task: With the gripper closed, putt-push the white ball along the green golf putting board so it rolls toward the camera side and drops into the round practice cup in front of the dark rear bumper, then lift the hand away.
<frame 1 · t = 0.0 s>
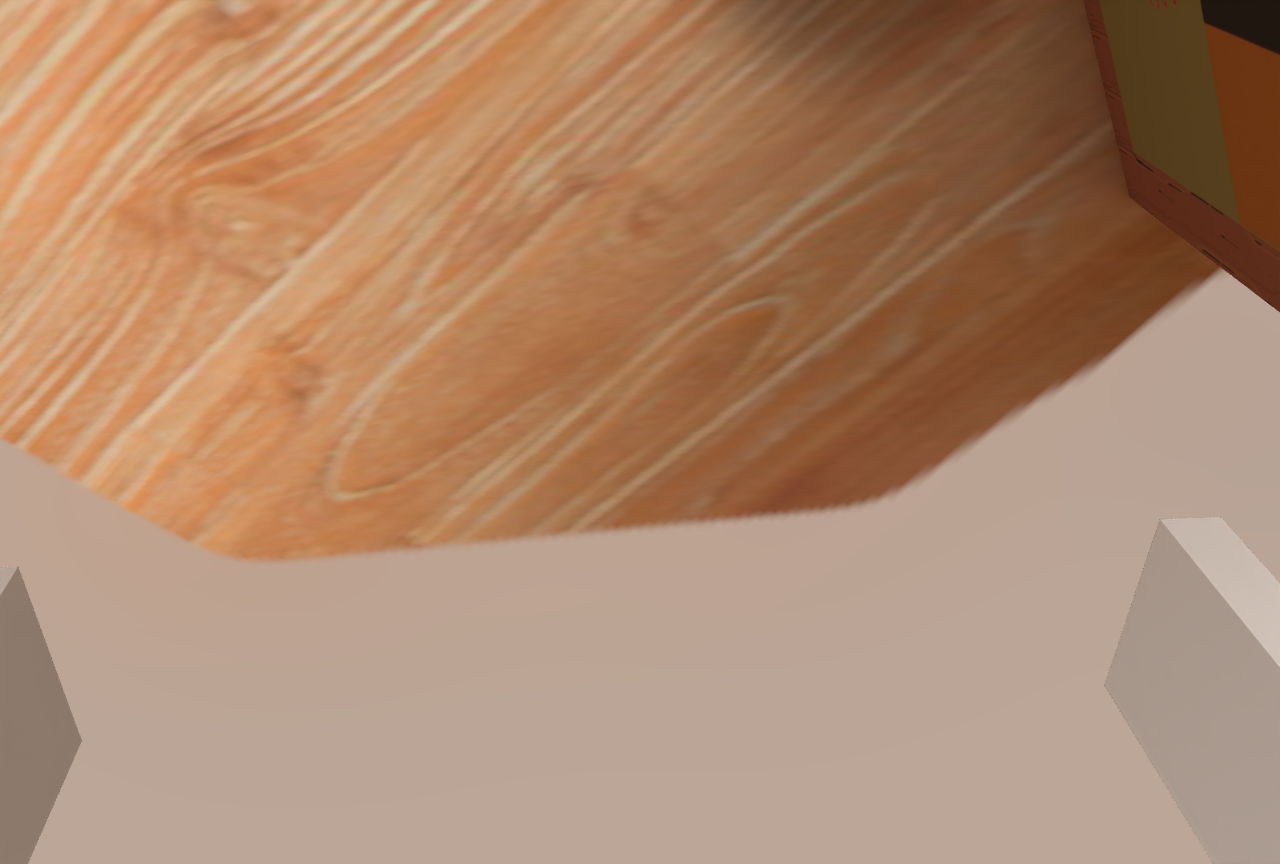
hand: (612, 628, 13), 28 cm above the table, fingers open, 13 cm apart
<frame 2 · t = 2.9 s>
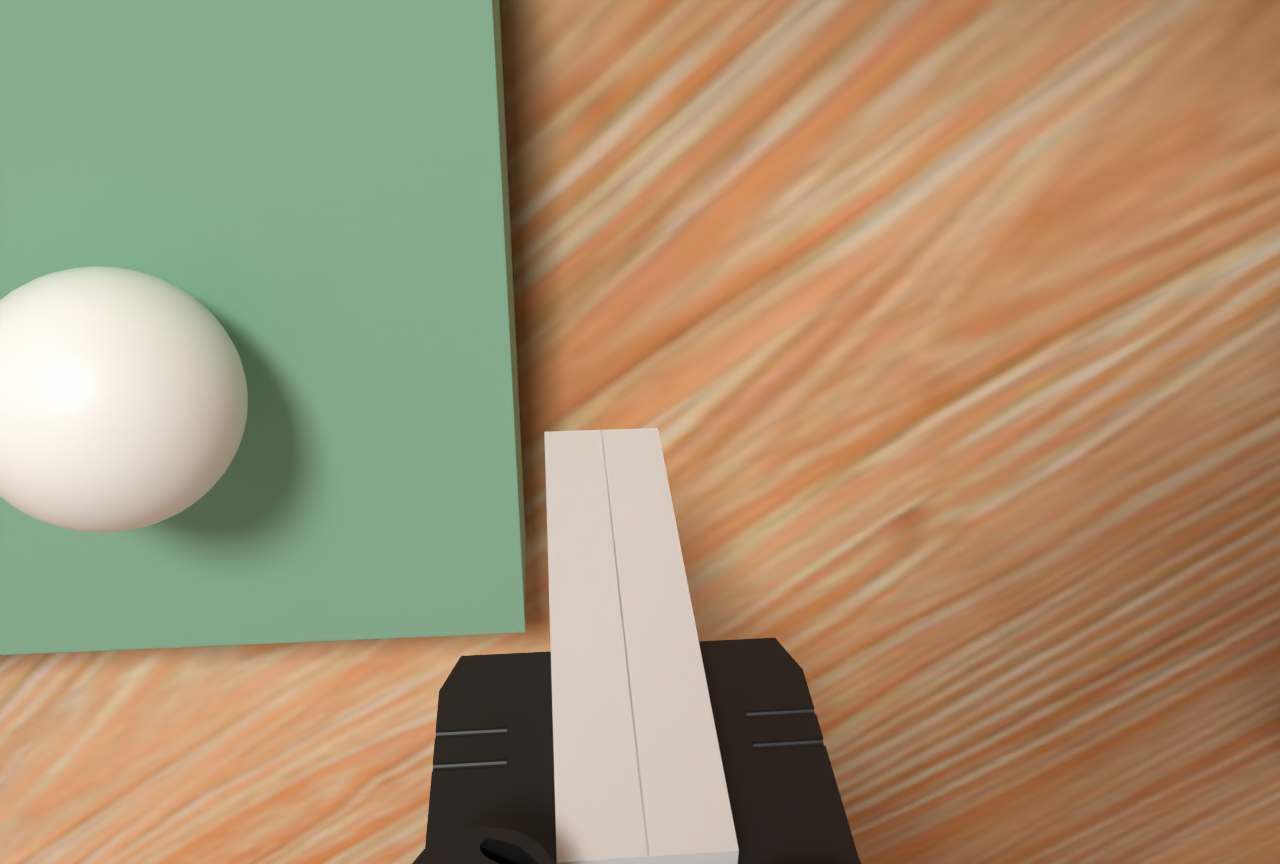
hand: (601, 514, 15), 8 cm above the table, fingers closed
ball: (107, 400, 17), point 5 cm above the table, touching green golf putting board
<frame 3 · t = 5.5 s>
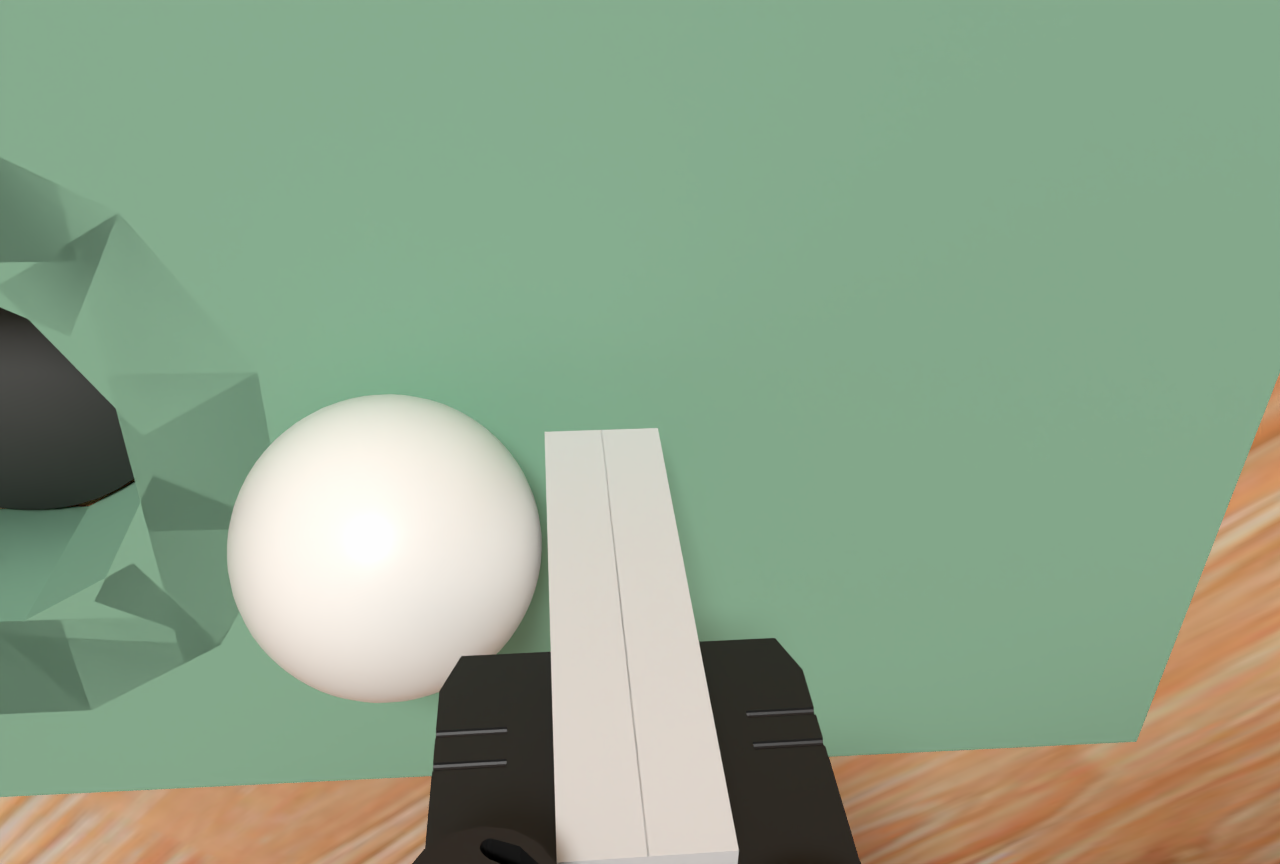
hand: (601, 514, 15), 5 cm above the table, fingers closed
green golf putting board: (428, 352, 19), on the table
ball: (389, 546, 14), point 5 cm above the table, tilted 158°, touching green golf putting board
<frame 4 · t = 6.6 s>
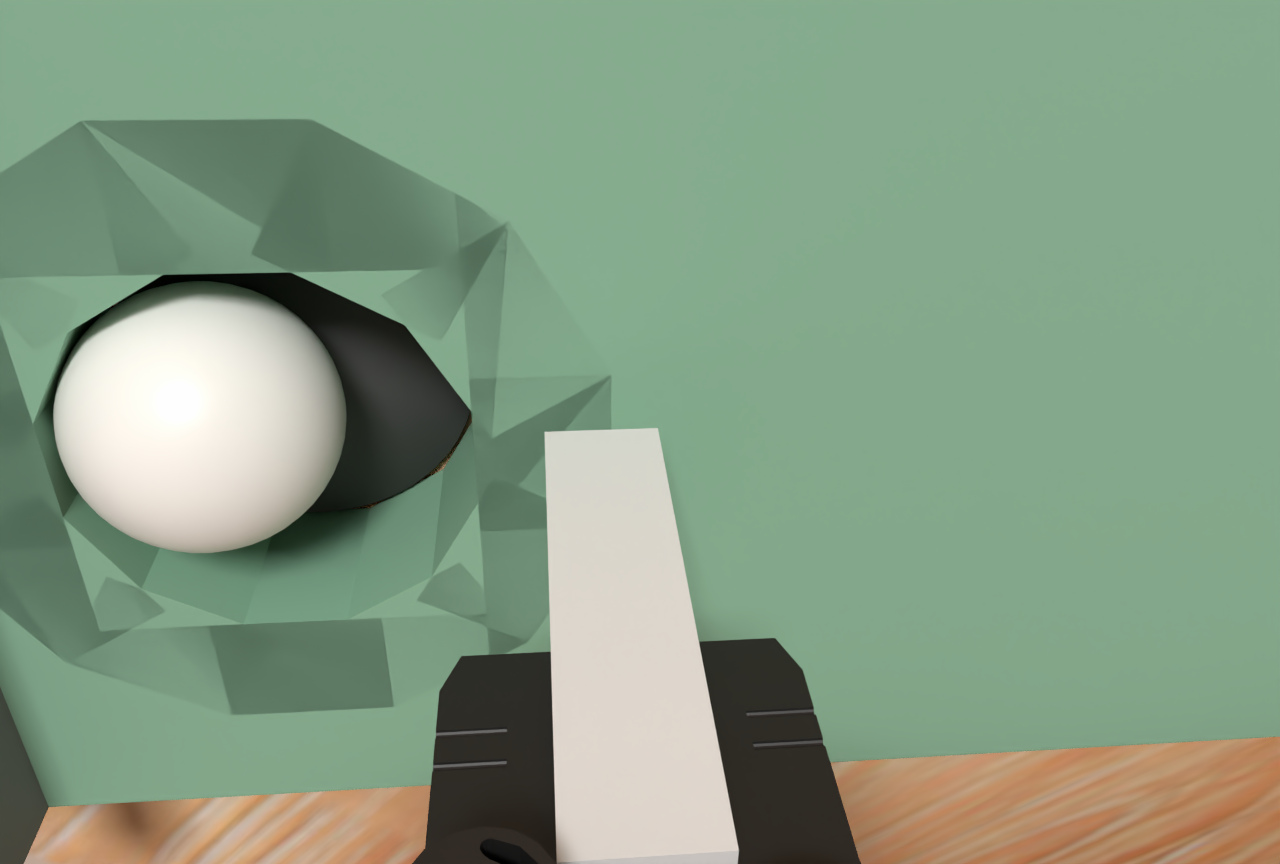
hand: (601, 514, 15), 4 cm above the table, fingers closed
green golf putting board: (715, 354, 19), on the table
ball: (206, 417, 16), point 2 cm above the table, tilted 87°, touching green golf putting board
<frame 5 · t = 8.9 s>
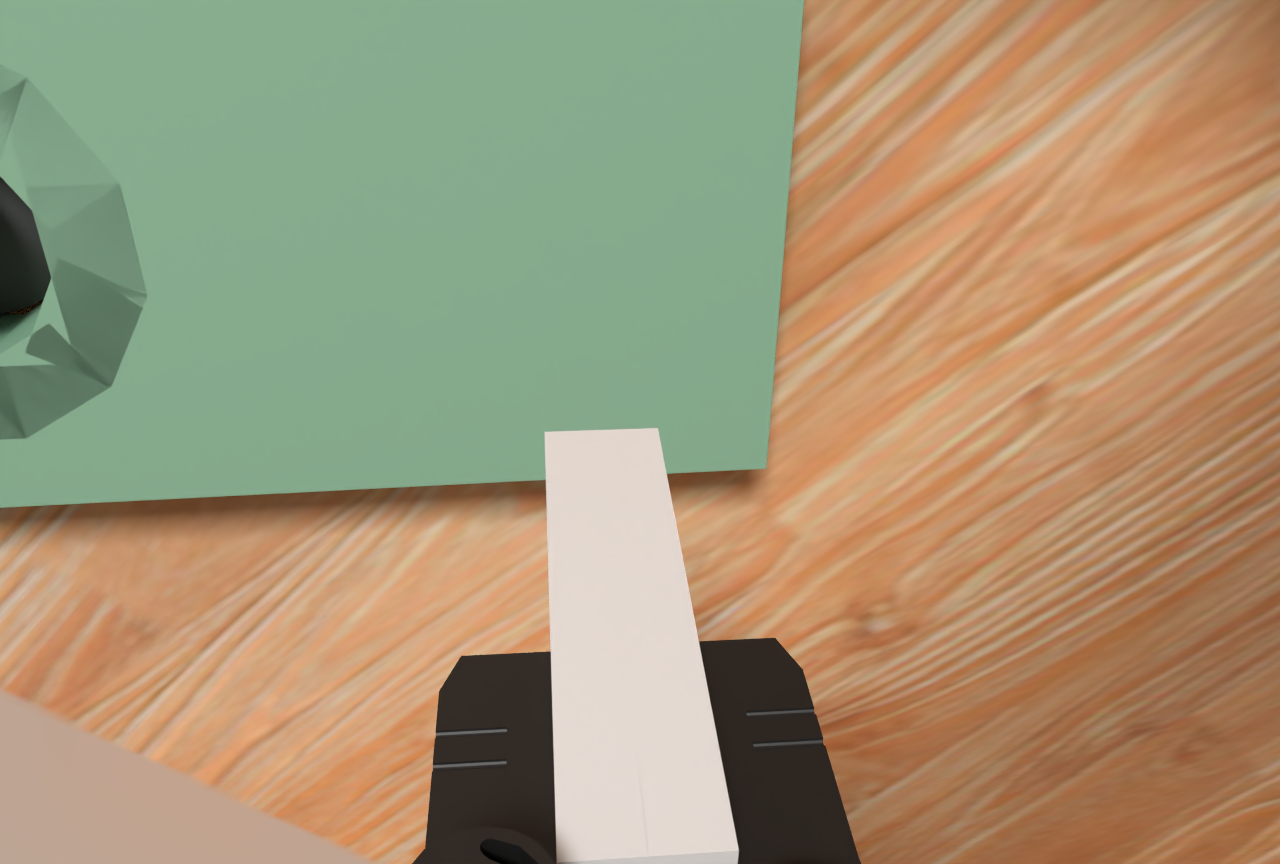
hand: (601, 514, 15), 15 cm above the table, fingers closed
green golf putting board: (251, 195, 28), on the table
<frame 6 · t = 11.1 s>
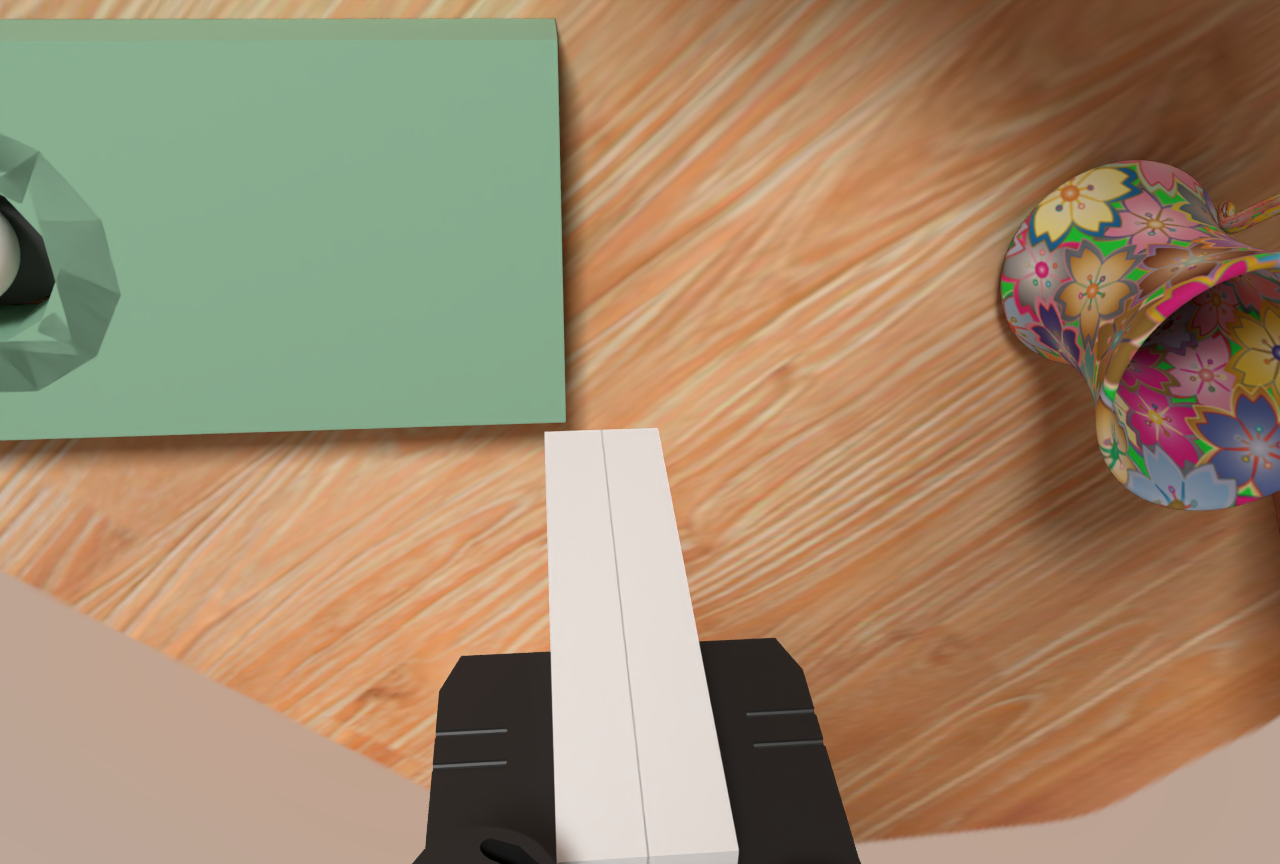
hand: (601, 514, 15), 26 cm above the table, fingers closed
mug: (1123, 230, 43), on the table
green golf putting board: (195, 223, 39), on the table
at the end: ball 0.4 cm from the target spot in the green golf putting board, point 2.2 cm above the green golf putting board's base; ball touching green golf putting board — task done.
